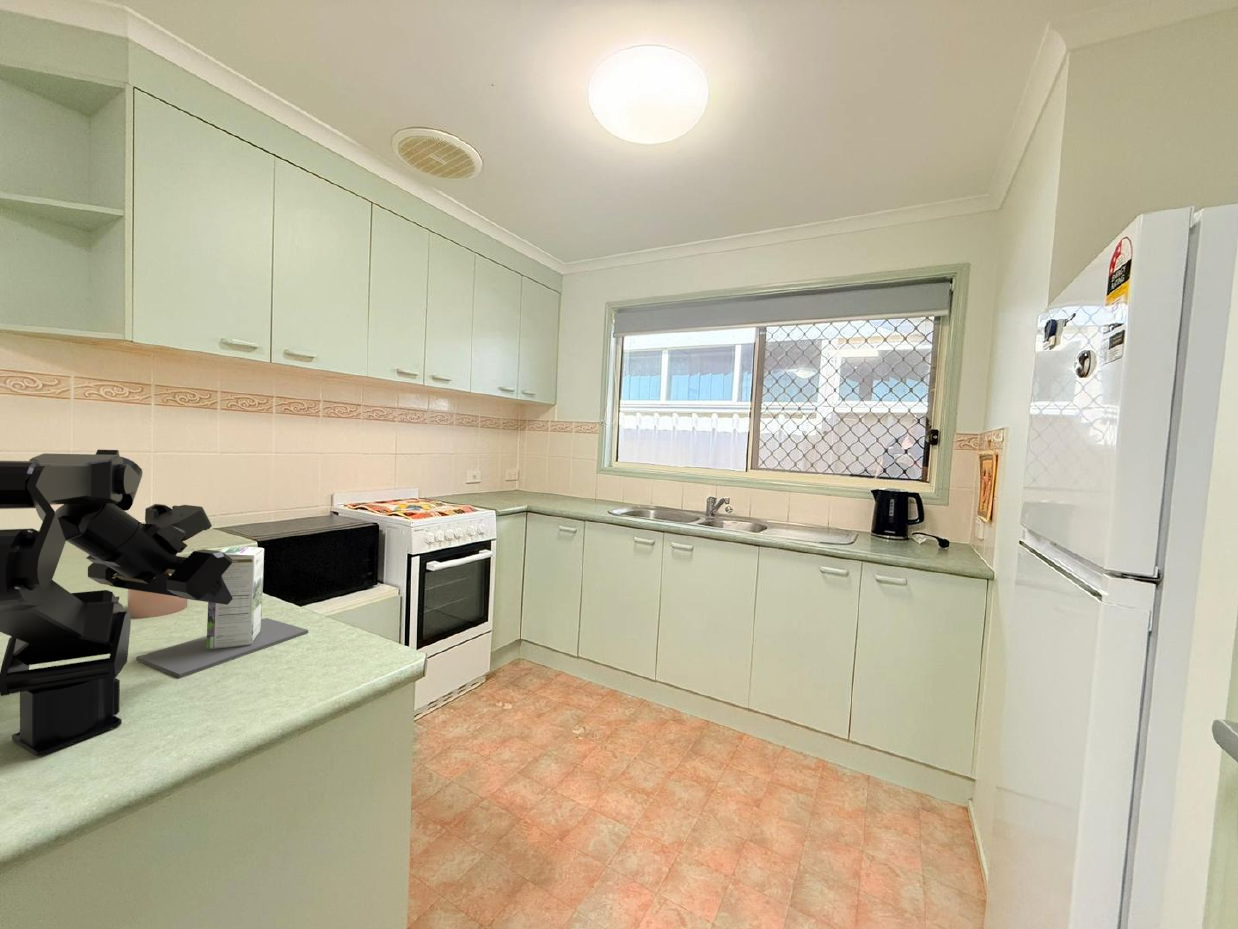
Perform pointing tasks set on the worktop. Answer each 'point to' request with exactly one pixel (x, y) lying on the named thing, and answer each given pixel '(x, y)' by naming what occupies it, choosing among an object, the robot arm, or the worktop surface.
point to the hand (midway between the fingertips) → (205, 597)
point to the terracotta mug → (153, 604)
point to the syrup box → (238, 601)
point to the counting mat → (216, 650)
